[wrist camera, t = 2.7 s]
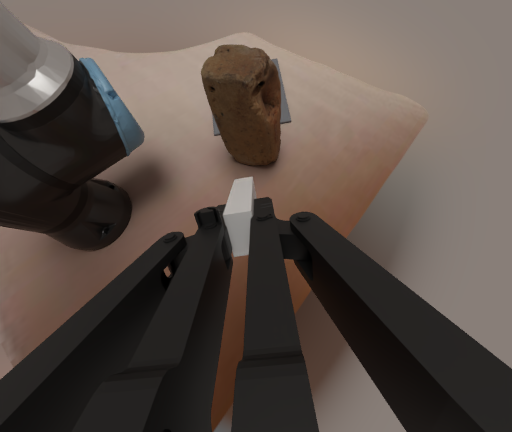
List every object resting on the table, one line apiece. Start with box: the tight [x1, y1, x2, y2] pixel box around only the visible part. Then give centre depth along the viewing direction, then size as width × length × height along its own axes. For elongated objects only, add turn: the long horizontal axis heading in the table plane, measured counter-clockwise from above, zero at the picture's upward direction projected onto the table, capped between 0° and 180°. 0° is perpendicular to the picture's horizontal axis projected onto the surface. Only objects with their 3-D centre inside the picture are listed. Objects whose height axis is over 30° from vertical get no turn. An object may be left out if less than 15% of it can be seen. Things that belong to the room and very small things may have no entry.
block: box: [201, 45, 281, 165], centre depth 35 cm, size 11×8×20 cm
